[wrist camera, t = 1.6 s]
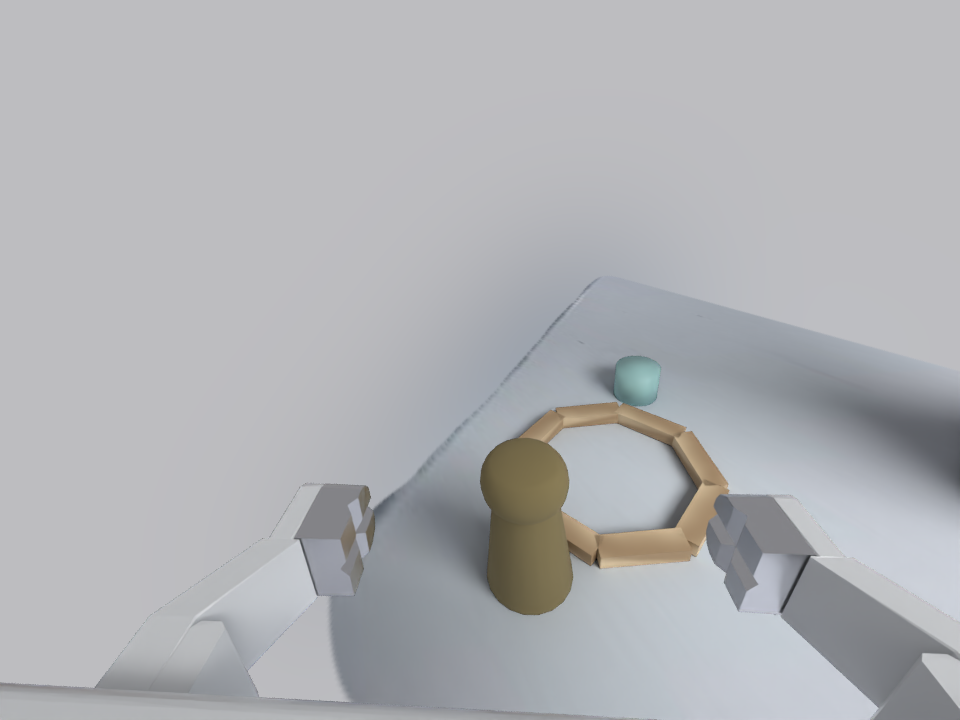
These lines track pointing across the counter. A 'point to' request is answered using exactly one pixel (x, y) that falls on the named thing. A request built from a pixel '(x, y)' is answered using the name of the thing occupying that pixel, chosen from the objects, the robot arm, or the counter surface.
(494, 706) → the counter surface
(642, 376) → the loose bead
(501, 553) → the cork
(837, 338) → the counter surface
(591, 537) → the wooden segmented ring
